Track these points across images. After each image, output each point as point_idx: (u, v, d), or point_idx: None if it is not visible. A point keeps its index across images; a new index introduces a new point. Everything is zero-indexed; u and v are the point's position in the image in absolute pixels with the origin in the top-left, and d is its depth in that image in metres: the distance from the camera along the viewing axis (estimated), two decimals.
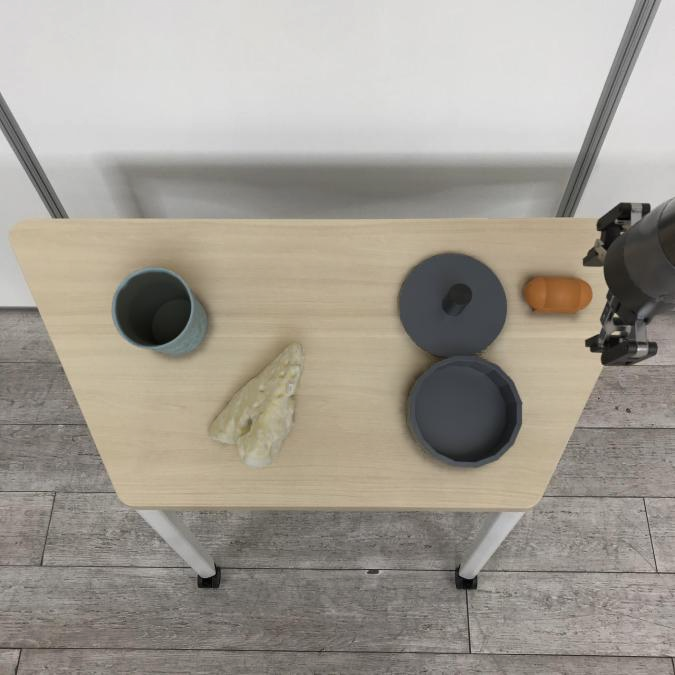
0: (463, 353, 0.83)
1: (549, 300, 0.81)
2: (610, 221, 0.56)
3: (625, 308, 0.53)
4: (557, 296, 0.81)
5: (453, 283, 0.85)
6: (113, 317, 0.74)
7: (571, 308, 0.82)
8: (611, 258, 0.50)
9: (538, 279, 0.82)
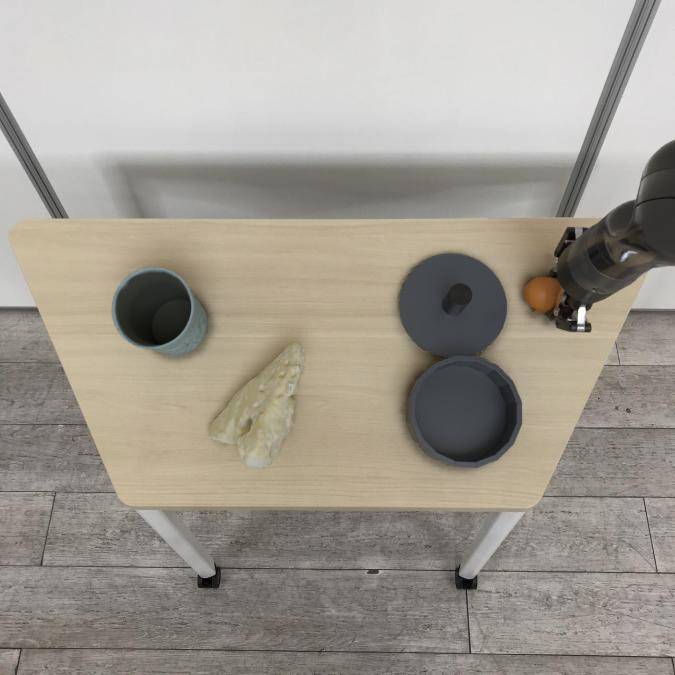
0: (463, 353, 0.83)
1: (549, 300, 0.81)
2: (562, 244, 0.78)
3: (573, 298, 0.74)
4: None
5: (453, 283, 0.85)
6: (113, 317, 0.74)
7: None
8: (561, 263, 0.71)
9: (538, 279, 0.82)
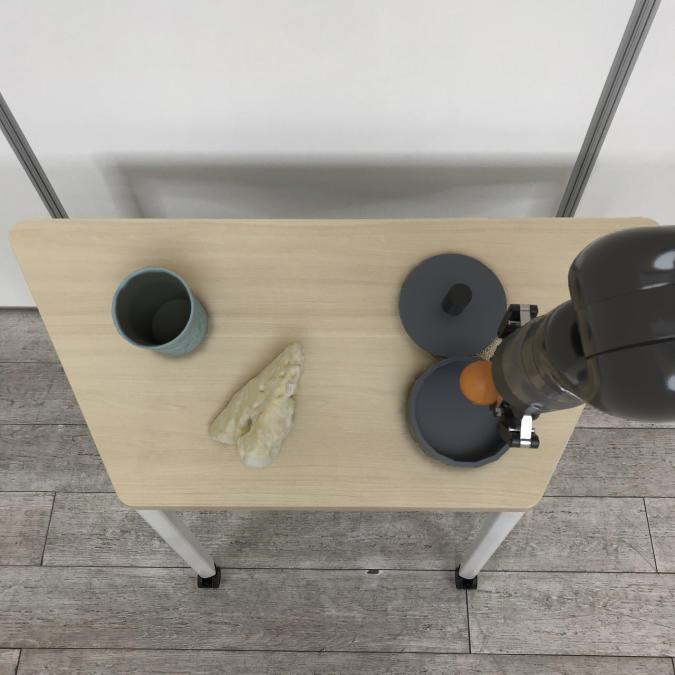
0: (463, 353, 0.83)
1: (489, 393, 0.62)
2: (505, 324, 0.59)
3: None
4: None
5: (453, 283, 0.85)
6: (113, 317, 0.74)
7: None
8: (495, 361, 0.52)
9: (476, 365, 0.63)
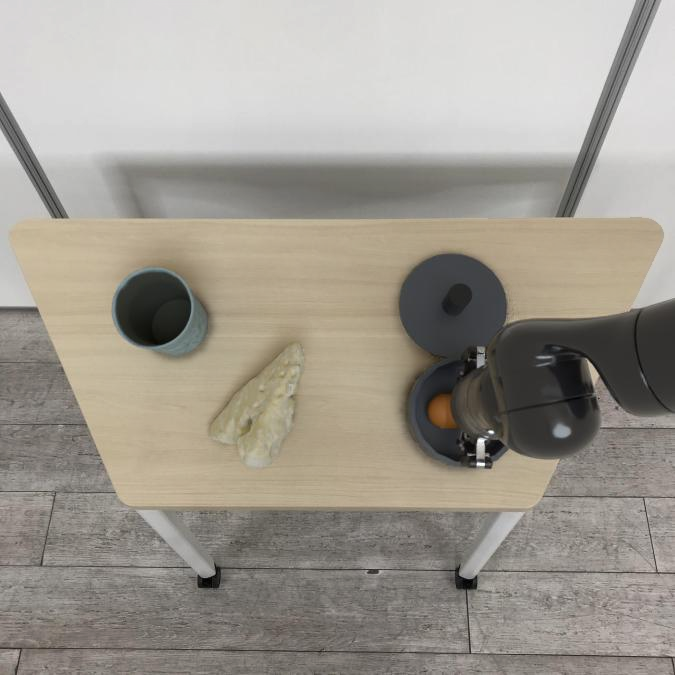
0: None
1: (449, 420, 0.78)
2: (466, 358, 0.72)
3: None
4: None
5: (453, 283, 0.85)
6: (113, 317, 0.74)
7: None
8: (452, 399, 0.65)
9: (439, 398, 0.79)
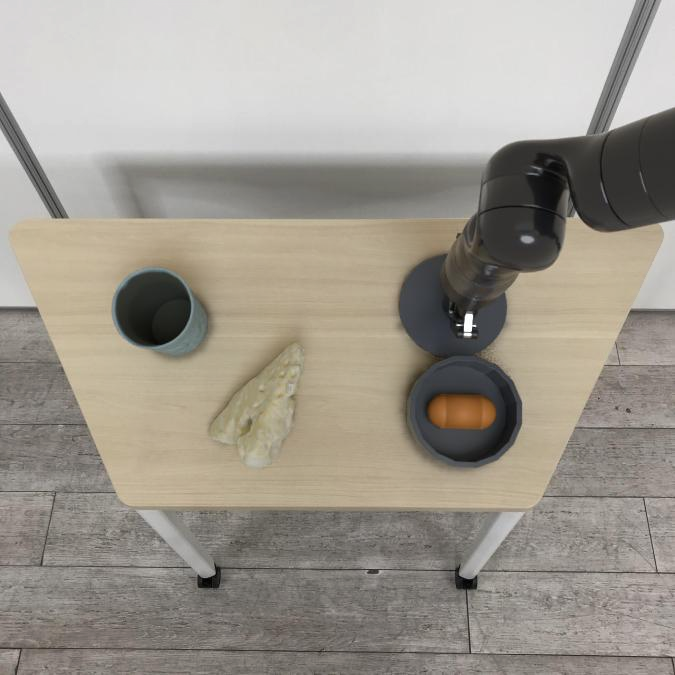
0: (463, 353, 0.83)
1: (449, 420, 0.78)
2: None
3: None
4: (458, 417, 0.78)
5: None
6: (113, 317, 0.74)
7: (474, 428, 0.79)
8: (442, 268, 0.69)
9: (439, 398, 0.79)
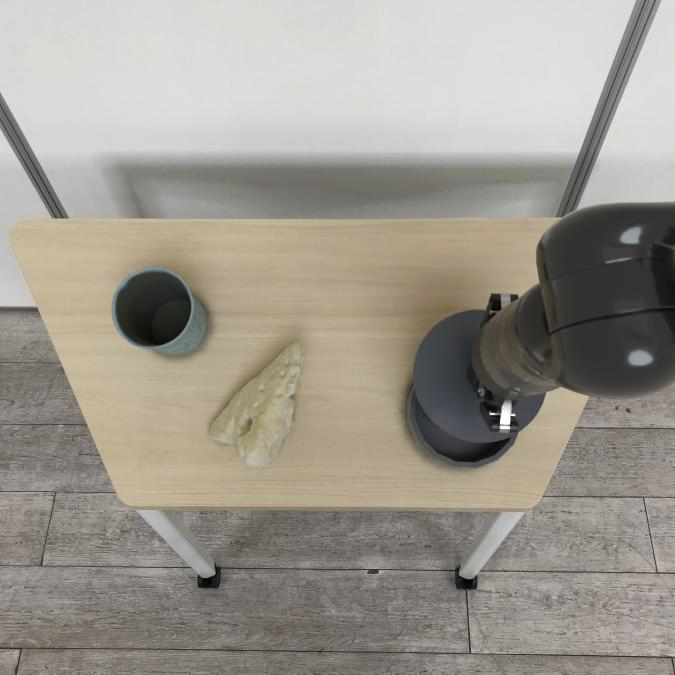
0: (493, 436, 0.66)
1: None
2: (487, 316, 0.60)
3: None
4: None
5: None
6: (113, 317, 0.74)
7: None
8: (474, 347, 0.52)
9: None
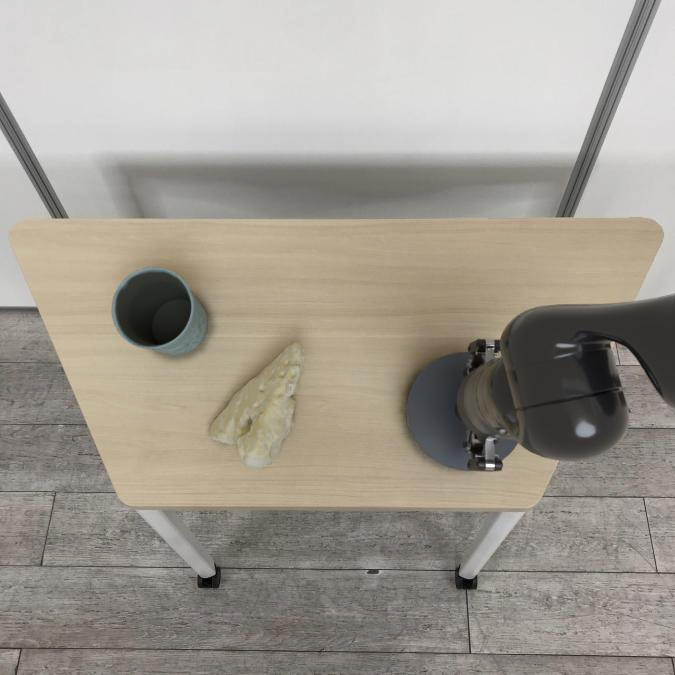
0: None
1: None
2: (473, 350, 0.67)
3: None
4: None
5: None
6: (113, 317, 0.74)
7: None
8: (459, 395, 0.60)
9: None
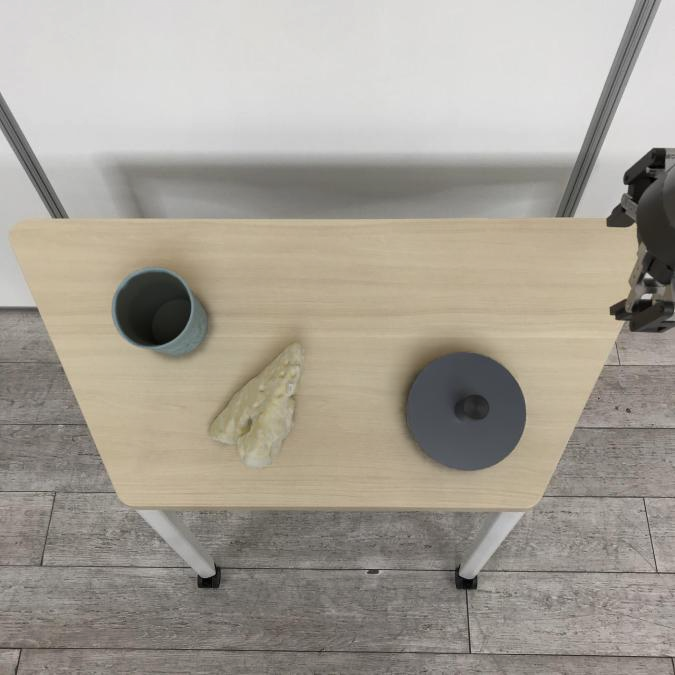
0: (478, 465, 0.75)
1: None
2: (640, 171, 0.50)
3: (659, 265, 0.47)
4: None
5: (467, 385, 0.77)
6: (113, 317, 0.74)
7: None
8: (646, 206, 0.44)
9: None
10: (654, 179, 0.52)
